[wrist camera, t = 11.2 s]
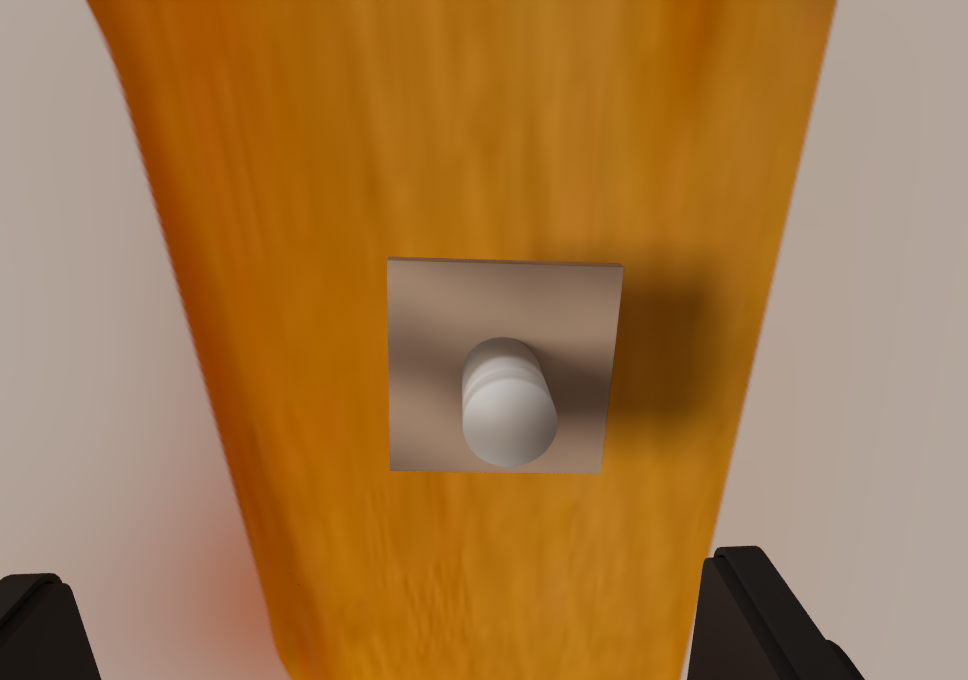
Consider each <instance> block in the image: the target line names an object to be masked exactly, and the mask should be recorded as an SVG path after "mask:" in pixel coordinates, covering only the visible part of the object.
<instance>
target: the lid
mask: <svg viewBox="0 0 968 680" xmlns="http://www.w3.org/2000/svg"><path fill="white" fill-rule="evenodd" d="M623 272H624V267H623V266H622V265H620V264H617V263H583V262H550V261H516V260H482V259H449V258H415V257H389V258H388V260H387V286H388V355H389V424H390V471H426V472H509V473H592V474H601V466H602V457H603V448H604V439H605V431H606V422H607V413H608V404H609V396H610V387H611V378H612V369H613V360H614V352H615V343H616V334H617V325H618V316H619V308H620V299H621V290H622V281H623Z"/></svg>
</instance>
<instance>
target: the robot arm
mask: <svg viewBox="0 0 968 680" xmlns="http://www.w3.org/2000/svg"><path fill="white" fill-rule="evenodd" d="M0 680H101V677H100V674H99V671H98V668H97V665H96V662H95V659H94V656H93V653H92V650H91V647H90V644H89V641H88V638H87V635H86V632H85V629H84V626H83V622H82V620H81V616H80V613H79V610H78V607H77V604H76V601H75V598H74V595H73V592H72V590H71V588H70V586H69V585H67V584H65V583H62V581H61V579H60V577H58V576H57V575H56V574H53V573H40V574H14V575H9V576H6V577H4V578H2V579H1V580H0ZM687 680H865V679H864V678H863V676H862V675H861V674H860V672H859V671H858V670H857V668H856V667H855V665H854V664H853V663H852V661H851V660H850V658H849V657H848V656H847V655H846V653H845V652H844V651H843V650H842V649H841V648H840V647H839V646H838V645H837V644H835V643H834V642H832V641H830V640H826V639H825V638H824V637H823V635H822V634H821V632H820V631H819V629H818V628H817V627H816V625H815V624H814V622H813V621H812V619H811V618H810V617H809V615H808V614H807V612H806V611H805V610H804V608H803V607H802V605H801V604H800V602H799V601H798V600H797V598H796V597H795V595H794V594H793V593H792V591H791V590H790V588H789V587H788V585H787V584H786V583H785V581H784V580H783V578H782V577H781V576H780V574H779V573H778V571H777V570H776V568H775V567H774V565H773V564H772V563H771V561H770V560H769V558H768V557H767V555H766V554H765V553H764V551H763V550H762V549H761V548H760V547H757V546H736V547H720V548H717V549H716V551H715V553H714V557H713V558H706V559H705V560H704V563H703V569H702V576H701V583H700V590H699V597H698V605H697V612H696V619H695V626H694V633H693V641H692V648H691V655H690V662H689V669H688V677H687Z"/></svg>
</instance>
